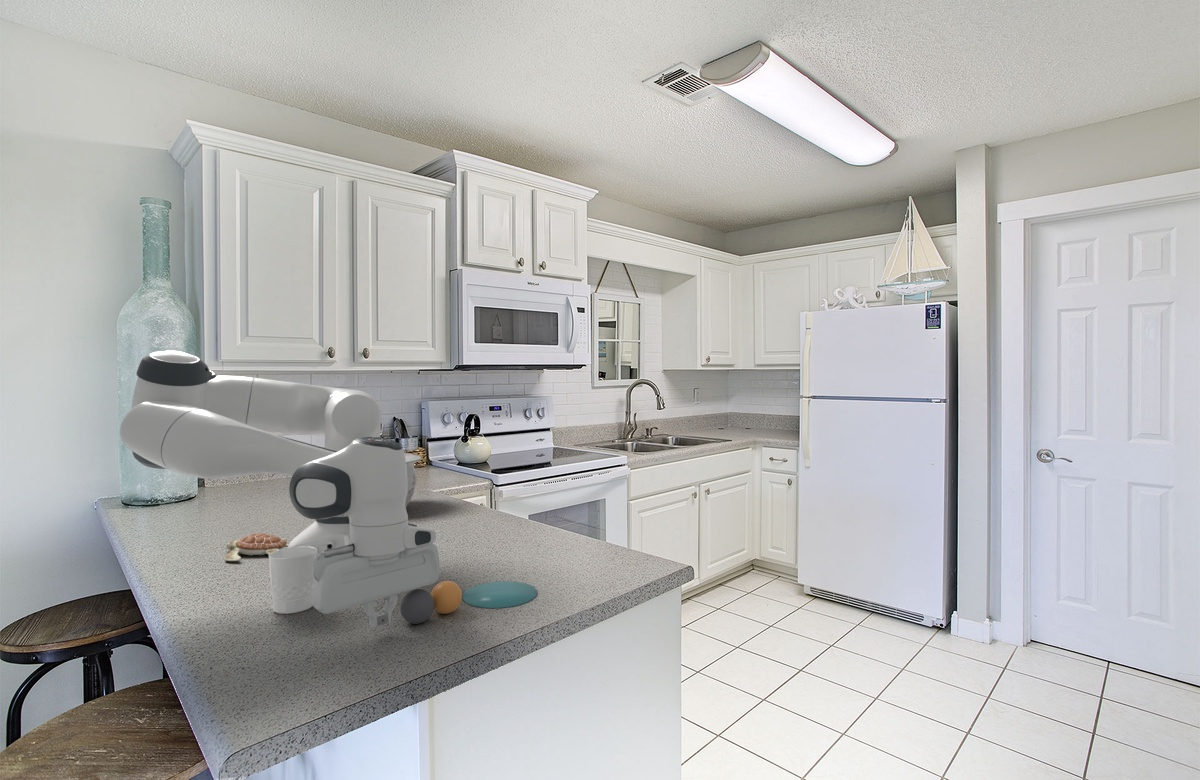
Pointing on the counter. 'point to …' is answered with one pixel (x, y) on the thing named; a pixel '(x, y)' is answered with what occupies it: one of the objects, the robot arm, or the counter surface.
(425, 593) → the dark gray ball
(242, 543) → the decorative turtle
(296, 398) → the robot arm
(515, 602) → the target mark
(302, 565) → the white cup
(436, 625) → the counter surface
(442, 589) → the object ball
